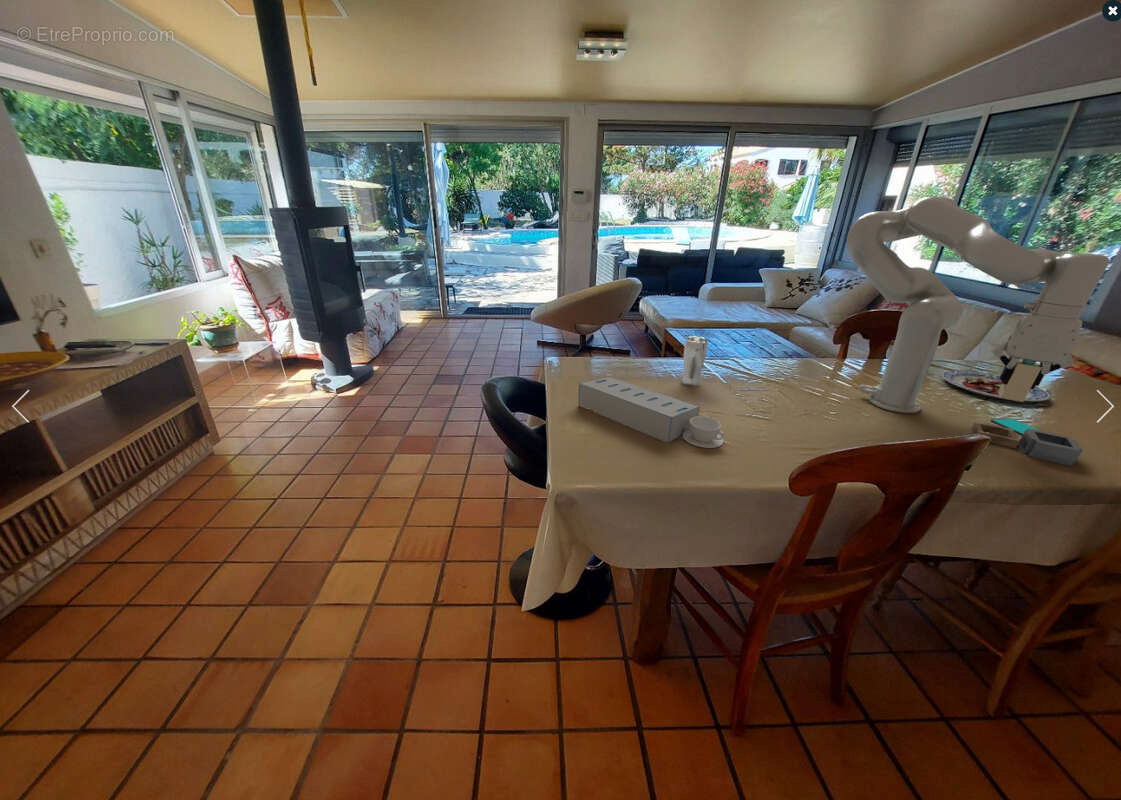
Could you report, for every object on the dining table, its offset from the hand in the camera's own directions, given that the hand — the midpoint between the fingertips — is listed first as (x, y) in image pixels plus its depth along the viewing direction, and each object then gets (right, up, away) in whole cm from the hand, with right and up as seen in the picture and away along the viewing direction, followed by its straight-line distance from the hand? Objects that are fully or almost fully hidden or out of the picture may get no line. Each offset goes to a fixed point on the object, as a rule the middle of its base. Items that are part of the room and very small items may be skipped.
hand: (1017, 384), depth 103 cm
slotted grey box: (-91, -8, +15) cm, 93 cm away
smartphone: (+13, -13, +8) cm, 20 cm away
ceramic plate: (+30, -1, +36) cm, 47 cm away
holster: (0, -13, +6) cm, 15 cm away
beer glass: (-68, +2, +37) cm, 78 cm away
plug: (0, -3, +2) cm, 3 cm away
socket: (+5, -17, -1) cm, 18 cm away
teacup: (-76, -14, +3) cm, 77 cm away
